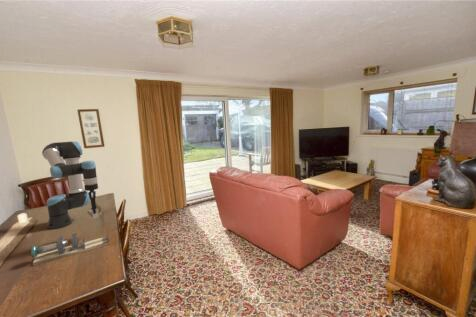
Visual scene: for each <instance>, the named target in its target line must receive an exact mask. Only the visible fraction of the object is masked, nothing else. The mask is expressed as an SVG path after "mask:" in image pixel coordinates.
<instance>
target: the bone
mask: <svg viewBox="0 0 476 317" xmlns="http://www.w3.org/2000/svg"><path fill="white" fill-rule="evenodd" d="M96 208H97V216H98V217H100V216H101V215H102V212H103V211H102V209H103V208H102V205H101V204H99V203H97V202H96ZM86 213H87V214H88V215H89V216H90V217H91V218H93V215H92V210H91V209H88V210H87V211H86Z"/></svg>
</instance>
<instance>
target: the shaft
mask: <svg viewBox="0 0 476 317" xmlns="http://www.w3.org/2000/svg"><path fill="white" fill-rule="evenodd" d="M63 246H65V247H68V246H69V242H68V239H67V240H64V241H63ZM30 249H31V250H30V253H31V257H32V258H34V259H35V257H37V256H38V254H42V253H46V252H49V251H53V250H57V249H58V246H57V242H55V243H50V244H46V245H42V246H38V245H37V244H33V245H31V247H30Z"/></svg>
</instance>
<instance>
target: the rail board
mask: <svg viewBox="0 0 476 317" xmlns="http://www.w3.org/2000/svg"><path fill="white" fill-rule="evenodd" d="M108 244H109V245H110V241H109V242H108V240H107V235H106V236H103V237H99V238H95V239H92V240H91V239H90V240H88V241H85V249H83V242H80V243H78V250H75V251H73V249H72V245H68V246H65V253H64V254H60V255H59V252H58V248H57V249H53V250H49V251H45V252H41V253H38V256H37V257H34V260H33V261H32V266H38V265H42V264H45V263H48V262H52V261H55V260H59V259H62V258H66V257H69V256H74V255H76V254H80V253H84V252H87V251H91V250H95V249H98V248H100V247H102V248H103V247H105V246H108Z"/></svg>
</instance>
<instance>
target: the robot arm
mask: <svg viewBox="0 0 476 317" xmlns="http://www.w3.org/2000/svg"><path fill="white" fill-rule="evenodd" d="M41 153H42V157H43V158H44V159H45V160H47V162H48V164H49V166H50V169H49V173H50V177H51V178H52V179H57V178H64V177H67V178H68V185H69V191H68V194H67V195H66V194H65V193H62V194H56V195H53V196H51V197H48V198H47V200H46V206H47V207H46V208H47V214H48V222H47V229H48V230H57V229H61V228H64V227H67V226H69V225H71V224H72V223H73V218H72V217H71V216H70V214H69V210H75V209H78V208H82V207H83V208H84V206H85V207H86V206H88V204H89V202H90V204H91V208H90V211H92V215H93V217H92V219H98V218H99V216H97V214H98V208H96V203H97V202H96V198H97V197H96V195H97V193H96V192H97V191H96V190H98V188H99V186H98V185H99V184H98V176H97V169H96V167H97V166H96V163H95V161H94V160H85V161H82V162H80V158H81V156H82V155H83V154H84V153H83V149H82V146H81V144H80V143H79V142H78V141H60V142H59V141H58V142H51V143H49V144H47V145H46V146H44V147H43V149H42V152H41ZM83 183H84V184H83Z"/></svg>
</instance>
